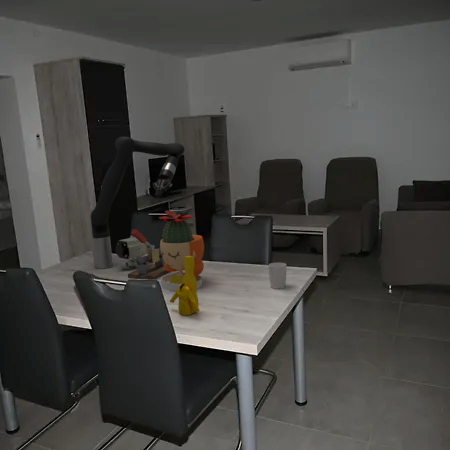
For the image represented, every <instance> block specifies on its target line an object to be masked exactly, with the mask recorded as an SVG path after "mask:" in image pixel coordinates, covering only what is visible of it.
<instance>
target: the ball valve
mask: <svg viewBox="0 0 450 450" xmlns="http://www.w3.org/2000/svg"><path fill="white" fill-rule="evenodd" d="M144 237H145V238H146V236H144ZM146 239H147V238H146ZM146 241H147V242H148V243H149V241H148V239H147V240H146ZM114 249H115V255H116V256H117V257H119V258H120V259H124V260H127V261H125V268H126V269H129V268H130V269H129V270H131V269H134V268H136V269H138V267H137V263H136V257H138V256H140V255H142V251H144V250H146V245H145V244H144V243H141V242H140V241H139V240H137V239H136V238H135V237H134V236H133V235H130V237H128V238H125V239H120V240H117V244H116V246H115V247H114ZM129 259H130V260H129Z"/></svg>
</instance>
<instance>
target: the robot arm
mask: <svg viewBox="0 0 450 450" xmlns="http://www.w3.org/2000/svg"><path fill="white" fill-rule="evenodd" d="M114 147H115V149H116V150H117V153H116V156H115V158H114V161H113V162H112V164H111V165H110V166H109V167H108V169H107V171H106V173H105V176H104V178H103V181H102V184H101V188H100V192H99V196H98V197H99V198H98V200H97V203H96V205H95V207H94V209H93V210H92V211H91V212H90V223H91V225H90V226H91V234H92V242H93V251H92V254H93V255H92V256H93V264H94V268H96V269H108V268H111V267H113V265H114V264H113V254H112V245H111V237H110V236H111V234H110V226H109V215H110V210H111V207H112V205H113V201H114V200H115V198H116V196H117V194H118V191H119V190H120V186H121V185H122V184H121V183H122V181H123V178H124V175H125V172H126V170H127V166H128V165H129V162H130V159H131V158H132V156H133V153H142V154H148V155H153V156H158V157H159V156H161V157H165V156H167V157H166V160H165V162H164V164H163V166H162V168H161V170H160V173H159V175H158V179H157V180H156V182H152V187H153V189H154V190H155V193H154V196H155V198H157V199H159V198H161V196H162V193H165V192H167V191H168V190H170V188H172V187H173V186H174V185H173V183H172V180H173V178H174V175H175V173H176V169H177V167H178V165H179V159H180V157H181V156H182V155H183V154H184V153H185V147H184V145H182V144H181V143H179V142H172V143H170V142H169V143H161V142H155V141H154V142H151V141H142V140H141V141H140V140H135V139H133V138H131V137H129V136H123V135H122V136H120V137H118V138H117V139H116V140H115V142H114Z"/></svg>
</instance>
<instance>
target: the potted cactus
mask: <svg viewBox="0 0 450 450" xmlns="http://www.w3.org/2000/svg"><path fill="white" fill-rule="evenodd" d="M164 212H165V214H167V215H166V216H164V215H163V216H159V217H158V218H159V219H160V220H164V222H166V223H165V226H164V229H163V231H162V234H161V236H162V239H160V243H159V246H160V247H159V248H160V252H161V255H162V257H163V259H164V261H165V263H164V268H165V269H166V270H167V271H171V272H170V273H167V274H165V275H163V276H161V277H160V284H161V287H162V288H163V289H164V290H168V291H173V292H176V290H177V287H178V286H180V285H181V284H182V279H183V277H184V275H185V272H183V271H185V268H184V258H185V256H193V258H194V263H195V265H194V270H193V273H194V276H195V278H196V280H197V290H198V289H200V288H201V287H202V286H203V282H202V279H203V278H202V276H201V274H202V272H203V271H204V261H203V260H202V259H203V257H204V252H205V244H204V238H203V236H202V235H198V234H194V233H193V231H194V230H193V229H192V227H191V226H190V224H189V223H188V222H189V221H188V219H191V218H192V217H193V215H192V214H190V212H187V211H186V212H185V213H183V214H180V213H177V212H175V211H174V210H165V211H164ZM177 271H178V272H177ZM172 272H173V273H172Z"/></svg>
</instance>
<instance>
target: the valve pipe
mask: <svg viewBox="0 0 450 450" xmlns="http://www.w3.org/2000/svg"><path fill="white" fill-rule="evenodd" d="M151 245H152V246H151V248H147V246H146V250H144V251H142V255H140V256H138V257H135V259H136V263H137V267H138V268H137V270H138V274H144V275H147V274H149V266H148V265H149V264H155V266H158V267H164V263H165V261H164V259H163V257H162V255H161V252H160V247H158V248H156V247H155V244H151Z"/></svg>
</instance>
